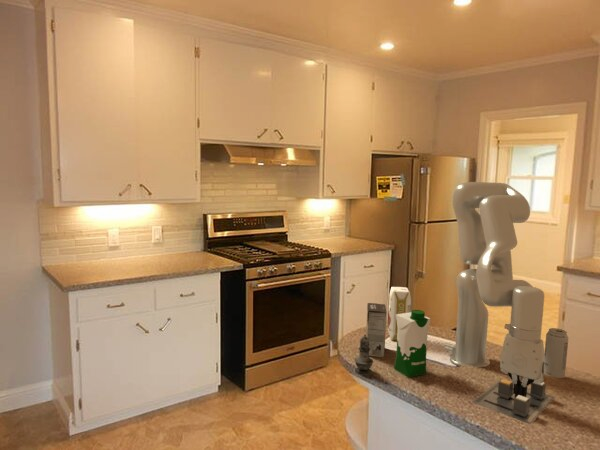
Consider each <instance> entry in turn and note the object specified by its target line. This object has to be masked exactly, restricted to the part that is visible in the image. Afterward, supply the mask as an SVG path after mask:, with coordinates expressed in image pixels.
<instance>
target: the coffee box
mask: <svg viewBox="0 0 600 450" xmlns="http://www.w3.org/2000/svg"><path fill="white" fill-rule="evenodd" d="M366 308H367V311H366V331H365V332H366V333H365V335H366V337H367V338H369V348H370V350H369V357H379V358H384V357H385V350H386V349H385V347H386V331H387V330H386V329H387V307H386V304H385V303H383V304H382V303H376V302H375V303H374V302H373V303H372V302H367V307H366Z"/></svg>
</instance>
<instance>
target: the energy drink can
mask: <svg viewBox="0 0 600 450" xmlns="http://www.w3.org/2000/svg"><path fill="white" fill-rule="evenodd" d="M567 333H568V332H567V330H565V329H562V328H556V327H555V328H554V327H550V328H548V331H547V332H546V334H545V343H544V355H545V366H544V374H543V375H546V376H549V377H551V378H555V379H556V378H557V379H563V378H566V370H567V368H566V367H567V357H568V347H569V346H568V345H569V336H568V334H567Z"/></svg>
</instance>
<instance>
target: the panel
mask: <svg viewBox="0 0 600 450" xmlns="http://www.w3.org/2000/svg"><path fill="white" fill-rule="evenodd" d="M501 380H502V379H499V380H498V381H496V382H494V383H493V384H492V385H491V386H490V387H488V388H487V389H485V391H484V392H482V393H481V394H480V395H478V396H476V397H475V398H474V399H473V400H472V401H471V403H472V404H476V405H478V406H480V407H484V408H486V409H488V410H490V411H491V410H492V411H493V412H494V411H495V412H497V413H500V414H502V415H505V416H507V417H510V418H512V419H516V420H518V421H521V422H523V423H526V424H528V425H532V424H533V423H534V422H535V420H537V419H538V417H539V416H540V415H541V414H542V413H543V412H544V411H545V409H547V407H548V406H549V405H550V404H551V403H552V402H553V401H554V400H555V398H556V397H555V396H552V395H550V394H547V393H546V395H545V396H544V397H543V399H542V400H541V399H538V398H535V397H532V396H530V392H531V388H528V387H527V395H526V398H529V399H530V407H529V410H530V412H529V413H528V414H527V415H526V416H525V417H523V416H521V415H518V414H515V413H512V412H513V408H514V398H515V394H513V395H512V396H511V397H510V398H509V399H506V398H503V397H501V396H498V395H497V393H498V386H499V382H500V381H501ZM513 388H514V384H513Z"/></svg>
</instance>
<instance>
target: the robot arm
mask: <svg viewBox="0 0 600 450" xmlns="http://www.w3.org/2000/svg"><path fill="white" fill-rule="evenodd" d="M452 207H453V208H452V209H453V212H454V215H455V218H456V221H457V229H458V230H457V233H458V247H459V250H458V251H459V257H460V260H461V262H462V263H464V264H465V265H469V266H470V265H472V266H476V268H470V269H464V270H462V271H461V272H459V273H458V275H457V276H456V290H457V314H456V315H457V318H456V332H455V333H456V334H455V344H452V343H449V342H445V343H444V350H445V351H448V352H450V353H451V354H450V356H449V361H450V362H451V363H452V364H454V365H455V366H457V367H463V366H466V367H471V368H482V367H483V368H484V367H487V366H489V365H490V364H491V362H490V359H489V358H487V357H486V354H487V353H486V352H487V351H486V350H487V340H488V339H487V338H488V328H489V327H488V325H489V310H488V308H487V306H488V307H494V308H495V307H496V308H499V307H504V308H505V307H509V308H510V307H511V311H510V320H509V322H510V323H508V324H507V323H505V324H504V329H506V330H508V333H506V334H505V336H504V339H503V344H502V349H501V354H500V361H499V367H500V369H499V370H500V371H501V372H502V373H503V374H506V375H507V376H508V377H509V378H510V379H511V382H512V383H513V384H514V388H513V394H515V397H516V396H518V395H520V396H523V397H526V395H527V388H528V386H529V385H531V383H539V384H541V383H543V382H544V381H545V380H544V375H545V374H544V366H545V355H544V353H545V343H544V340H543V339H541V338H542V337H541V336H542V327H543V317H544V316H543V315H544V306H545V293H544V290H542V288H539V287H536V286H533V285H532V284H531V283H530V282H529V281H526V280H523V279H514V277H513V274H514V273H513V265H512V261H513V260H512V252H511V251H512V250H513V249H515V248H516V247H517V245H518V240H517V235H516V230H515V225H514V224H522V223H525V222H527V221H528V220H529V218H530V215H531V206H530V204H529V201H528V200H527V197H525V196H524V195H523V194H522V193H520V192H519V191H518V190H516V189H515V188H514V187H512V186H511V185H510V184H507V183H504V182H485V181H484V182H483V181H469V182H467V181H466V182H464V183H460V184H459V185H457V186H455V188H454V191H453V194H452ZM476 209H479V212H478V211H477V210H476ZM521 378H522V380H521Z"/></svg>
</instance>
